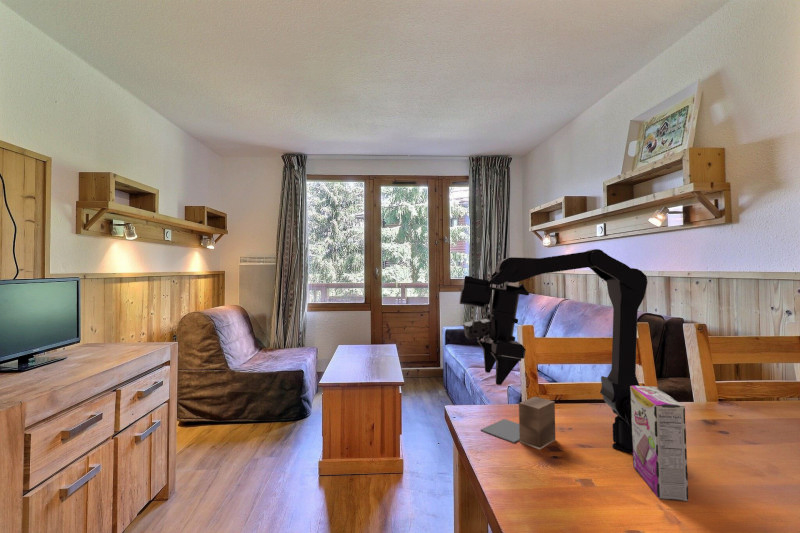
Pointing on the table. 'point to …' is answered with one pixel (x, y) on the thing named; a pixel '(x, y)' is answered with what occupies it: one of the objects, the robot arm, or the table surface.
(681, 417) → the candy bar box
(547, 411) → the walnut block
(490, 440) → the table surface
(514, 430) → the mat
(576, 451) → the table surface
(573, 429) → the table surface
